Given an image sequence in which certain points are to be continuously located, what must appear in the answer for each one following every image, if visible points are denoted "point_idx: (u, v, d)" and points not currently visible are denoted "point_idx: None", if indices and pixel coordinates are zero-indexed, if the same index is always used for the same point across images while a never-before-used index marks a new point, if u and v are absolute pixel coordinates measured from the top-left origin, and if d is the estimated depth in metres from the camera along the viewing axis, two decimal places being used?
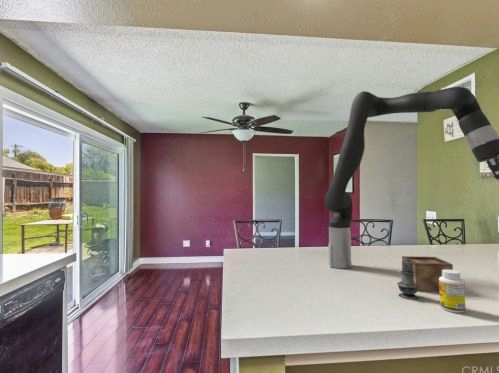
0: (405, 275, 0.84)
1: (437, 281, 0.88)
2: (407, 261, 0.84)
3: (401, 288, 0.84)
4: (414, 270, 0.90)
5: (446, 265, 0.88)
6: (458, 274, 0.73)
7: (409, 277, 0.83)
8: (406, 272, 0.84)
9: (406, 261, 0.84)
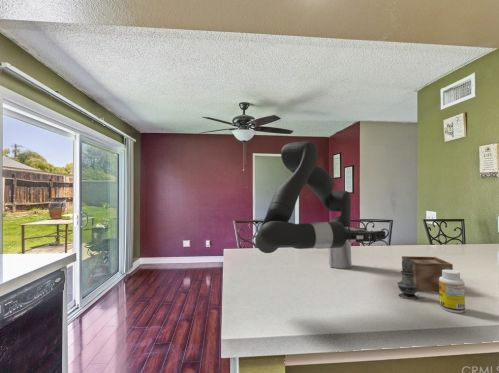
0: (405, 275, 0.84)
1: (437, 281, 0.88)
2: (407, 261, 0.84)
3: (401, 288, 0.84)
4: (414, 270, 0.90)
5: (446, 265, 0.88)
6: (458, 274, 0.73)
7: (409, 277, 0.83)
8: (406, 272, 0.84)
9: (406, 261, 0.84)
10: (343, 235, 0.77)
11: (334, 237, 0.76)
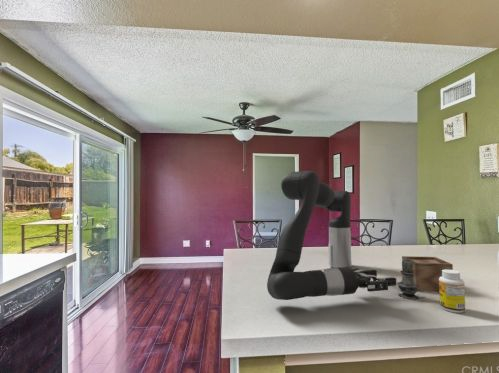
0: (405, 275, 0.84)
1: (437, 281, 0.88)
2: (407, 261, 0.84)
3: (401, 288, 0.84)
4: (414, 270, 0.90)
5: (446, 265, 0.88)
6: (458, 274, 0.73)
7: (409, 277, 0.83)
8: (406, 272, 0.84)
9: (406, 261, 0.84)
10: (355, 283, 0.77)
11: (345, 285, 0.76)
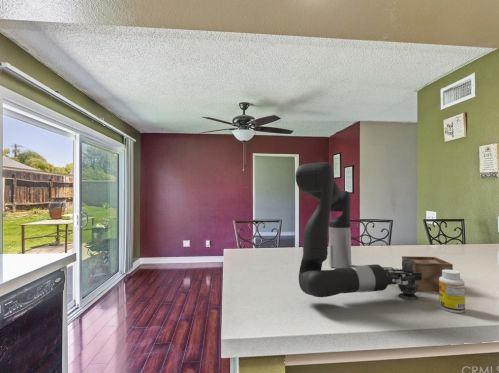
0: None
1: (437, 281, 0.88)
2: (407, 261, 0.84)
3: (401, 288, 0.84)
4: (414, 270, 0.90)
5: (446, 265, 0.88)
6: (458, 274, 0.73)
7: None
8: (406, 272, 0.84)
9: (406, 261, 0.84)
10: (385, 280, 0.79)
11: (376, 282, 0.78)
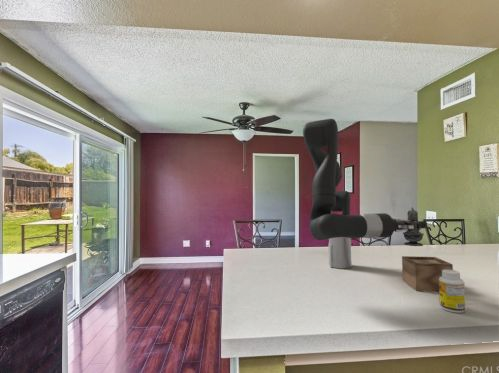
0: None
1: (437, 281, 0.88)
2: (412, 211, 0.88)
3: (406, 236, 0.88)
4: (414, 270, 0.90)
5: (446, 265, 0.88)
6: (458, 274, 0.73)
7: None
8: None
9: (411, 211, 0.88)
10: (392, 225, 0.83)
11: (383, 227, 0.83)
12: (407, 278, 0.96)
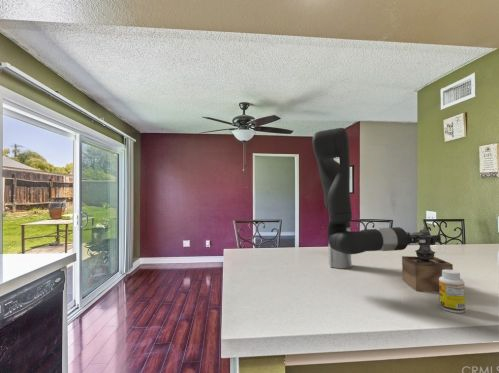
0: None
1: (437, 281, 0.88)
2: (424, 230, 0.94)
3: (419, 254, 0.93)
4: (414, 270, 0.90)
5: (446, 265, 0.88)
6: (458, 274, 0.73)
7: None
8: None
9: (423, 230, 0.94)
10: (406, 239, 0.89)
11: (398, 241, 0.88)
12: (407, 278, 0.96)
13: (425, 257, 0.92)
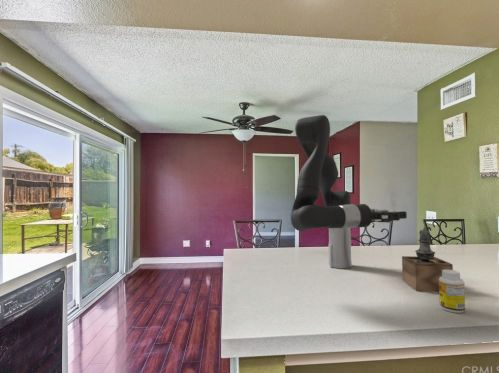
0: (423, 243, 0.93)
1: (437, 281, 0.88)
2: (424, 230, 0.94)
3: (419, 254, 0.93)
4: (414, 270, 0.90)
5: (446, 265, 0.88)
6: (458, 274, 0.73)
7: (426, 244, 0.93)
8: (423, 240, 0.93)
9: (423, 230, 0.94)
10: (370, 215, 0.86)
11: (361, 217, 0.86)
12: (407, 278, 0.96)
13: (425, 257, 0.92)
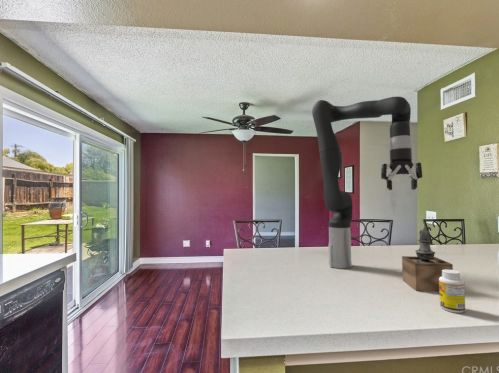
0: (423, 243, 0.93)
1: (437, 281, 0.88)
2: (424, 230, 0.94)
3: (419, 254, 0.93)
4: (414, 270, 0.90)
5: (446, 265, 0.88)
6: (458, 274, 0.73)
7: (426, 244, 0.93)
8: (423, 240, 0.93)
9: (423, 230, 0.94)
10: None
11: None
12: (407, 278, 0.96)
13: (425, 257, 0.92)
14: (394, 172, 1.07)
